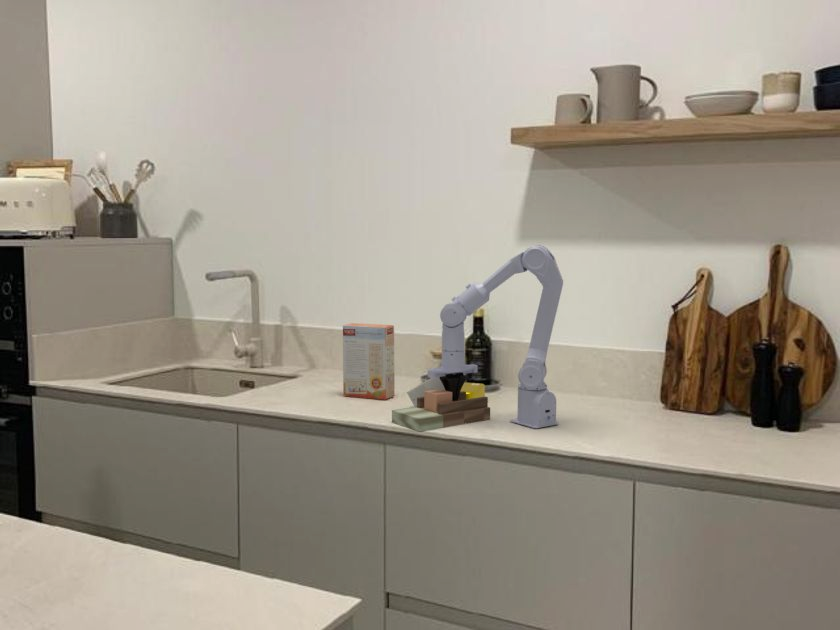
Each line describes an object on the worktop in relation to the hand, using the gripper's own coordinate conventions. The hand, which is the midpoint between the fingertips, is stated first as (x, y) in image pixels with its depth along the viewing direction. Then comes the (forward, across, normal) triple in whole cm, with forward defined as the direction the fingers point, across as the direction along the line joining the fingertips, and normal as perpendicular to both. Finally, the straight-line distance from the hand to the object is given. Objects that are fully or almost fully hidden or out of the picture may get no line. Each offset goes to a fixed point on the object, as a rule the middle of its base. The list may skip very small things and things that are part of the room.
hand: (452, 403), depth 212 cm
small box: (+2, +2, -15) cm, 15 cm away
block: (+1, +5, 0) cm, 5 cm away
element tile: (+5, -14, -18) cm, 24 cm away
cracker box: (+4, +3, -36) cm, 36 cm away
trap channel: (+4, +5, 0) cm, 6 cm away
